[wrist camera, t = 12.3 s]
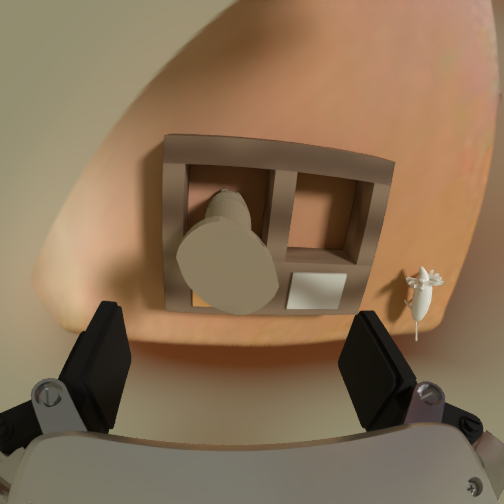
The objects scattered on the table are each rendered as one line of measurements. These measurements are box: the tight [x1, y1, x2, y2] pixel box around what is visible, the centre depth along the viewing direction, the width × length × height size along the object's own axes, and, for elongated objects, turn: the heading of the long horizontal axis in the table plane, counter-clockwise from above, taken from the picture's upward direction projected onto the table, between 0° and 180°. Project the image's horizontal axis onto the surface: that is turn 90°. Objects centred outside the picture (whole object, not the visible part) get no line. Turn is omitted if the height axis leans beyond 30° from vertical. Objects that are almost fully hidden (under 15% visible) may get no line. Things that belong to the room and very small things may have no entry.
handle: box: [176, 188, 279, 316], centre depth 24 cm, size 5×6×15 cm
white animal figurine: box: [404, 267, 445, 341], centre depth 36 cm, size 12×5×5 cm, turn 8°
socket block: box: [162, 134, 395, 315], centre depth 30 cm, size 18×22×4 cm
